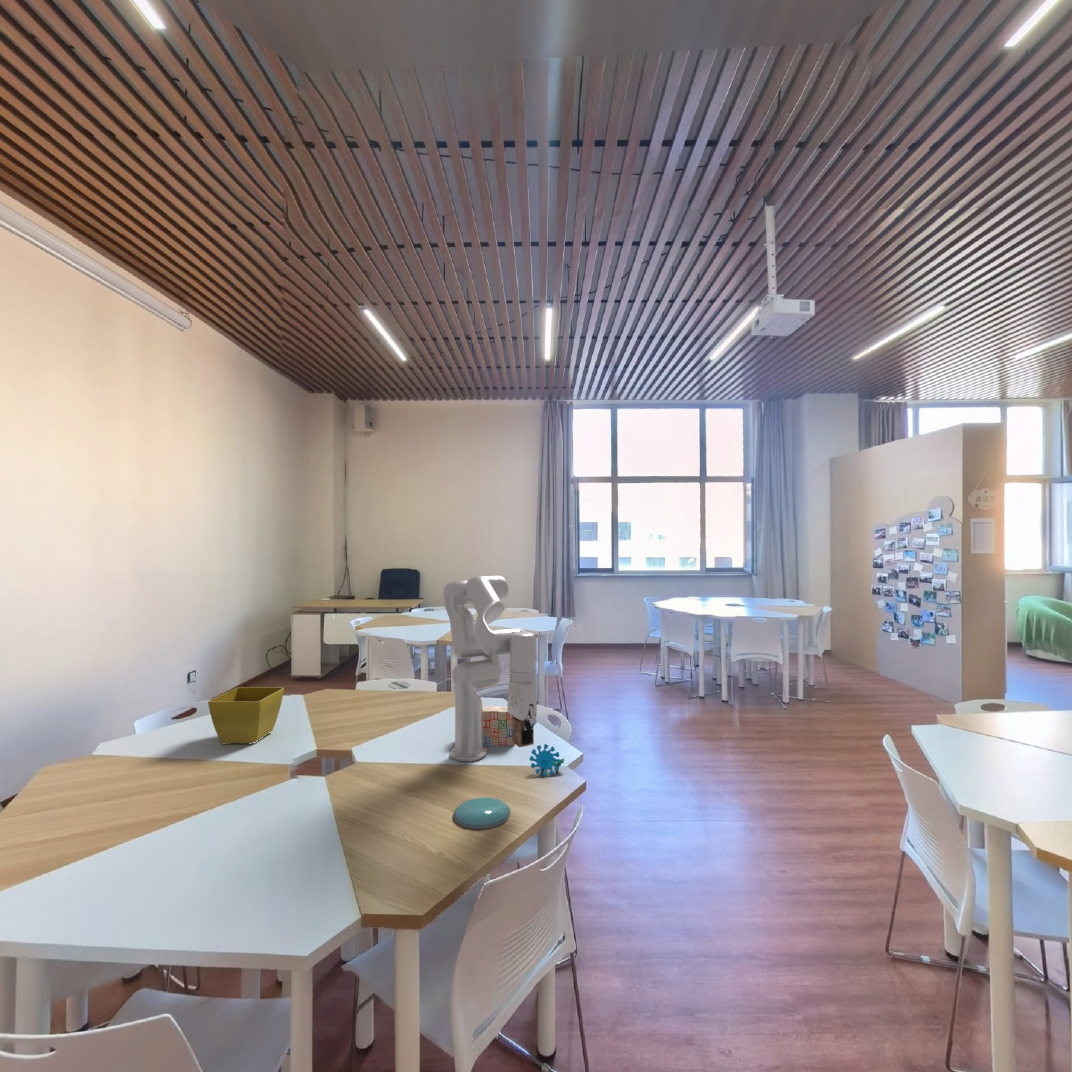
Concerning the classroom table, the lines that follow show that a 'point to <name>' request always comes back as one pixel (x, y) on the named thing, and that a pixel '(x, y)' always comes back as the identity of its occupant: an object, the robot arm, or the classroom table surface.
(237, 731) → the flower pot
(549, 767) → the spiky teal germ figurine
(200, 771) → the classroom table surface
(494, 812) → the teal domed disc
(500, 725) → the stack of blocks
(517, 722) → the walnut block
